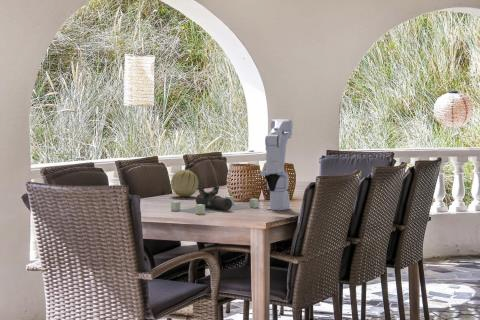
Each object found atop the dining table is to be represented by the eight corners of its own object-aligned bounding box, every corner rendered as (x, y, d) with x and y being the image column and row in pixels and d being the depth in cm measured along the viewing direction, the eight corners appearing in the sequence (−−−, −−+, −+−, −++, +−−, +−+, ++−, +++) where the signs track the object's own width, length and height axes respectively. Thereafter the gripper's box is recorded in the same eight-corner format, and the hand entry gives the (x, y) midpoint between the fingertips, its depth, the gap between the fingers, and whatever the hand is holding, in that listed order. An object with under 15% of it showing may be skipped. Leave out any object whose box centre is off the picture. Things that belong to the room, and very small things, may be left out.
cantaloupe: (166, 197, 436) (167, 169, 435) (176, 194, 450) (177, 167, 449) (192, 198, 432) (193, 170, 431) (202, 196, 446) (202, 168, 445)
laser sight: (218, 211, 378) (219, 190, 377) (191, 206, 395) (191, 186, 395) (235, 210, 384) (235, 189, 383) (207, 205, 401) (207, 185, 401)
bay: (229, 204, 410) (229, 195, 410) (258, 207, 397) (258, 199, 397) (171, 210, 380) (171, 201, 380) (200, 214, 368) (200, 205, 367)
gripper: (275, 159, 380) (275, 189, 381) (255, 161, 370) (254, 191, 370) (287, 160, 376) (287, 190, 377) (267, 161, 365) (266, 192, 366)
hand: (272, 190), depth 373 cm, fingers closed
